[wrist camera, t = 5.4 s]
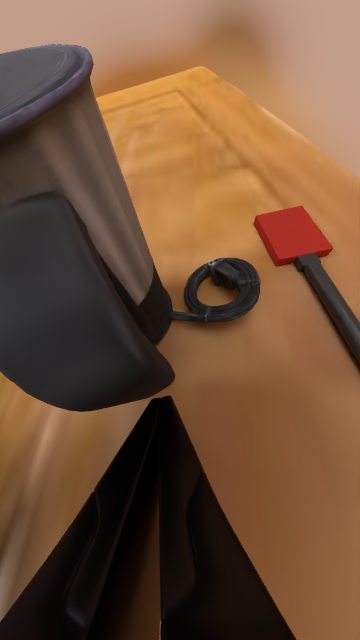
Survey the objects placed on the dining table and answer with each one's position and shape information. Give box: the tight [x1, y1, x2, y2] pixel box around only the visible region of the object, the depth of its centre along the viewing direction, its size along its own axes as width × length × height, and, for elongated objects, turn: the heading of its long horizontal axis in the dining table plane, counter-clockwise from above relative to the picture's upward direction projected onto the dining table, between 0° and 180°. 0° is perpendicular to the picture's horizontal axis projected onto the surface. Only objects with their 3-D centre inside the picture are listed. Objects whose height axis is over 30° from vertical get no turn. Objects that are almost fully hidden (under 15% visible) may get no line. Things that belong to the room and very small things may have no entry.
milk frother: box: [0, 44, 261, 412], centre depth 12 cm, size 14×16×15 cm
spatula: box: [254, 206, 360, 364], centre depth 17 cm, size 21×6×1 cm, turn 10°
